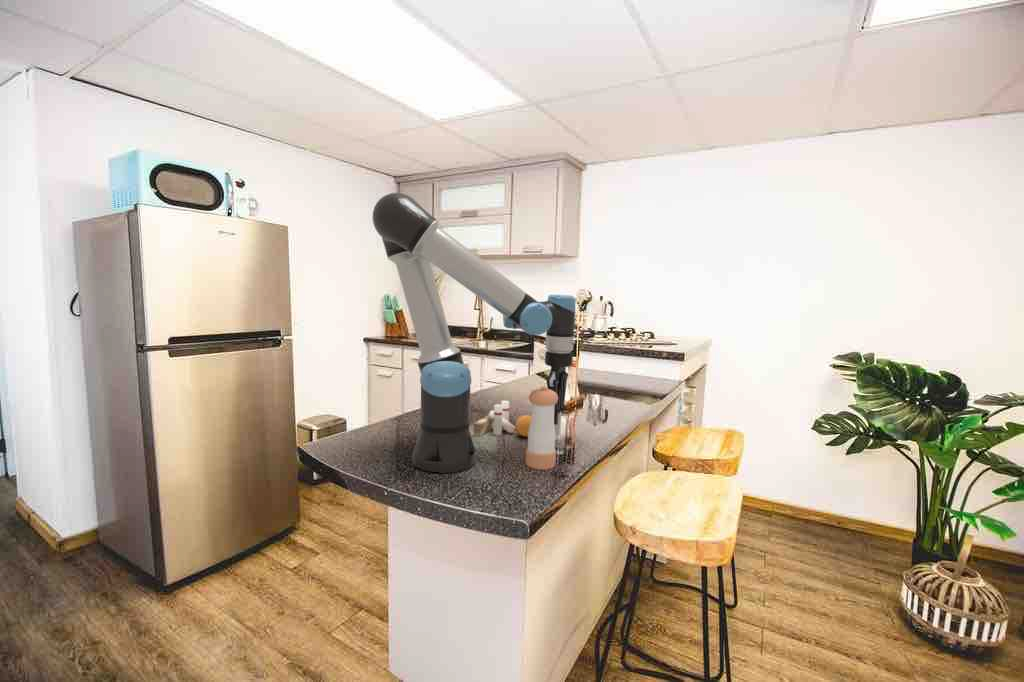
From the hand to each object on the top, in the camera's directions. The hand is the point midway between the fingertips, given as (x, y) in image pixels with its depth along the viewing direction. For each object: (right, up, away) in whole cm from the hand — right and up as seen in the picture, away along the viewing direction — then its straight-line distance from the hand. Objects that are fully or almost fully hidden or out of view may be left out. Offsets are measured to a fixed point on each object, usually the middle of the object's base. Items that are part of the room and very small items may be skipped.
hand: (554, 434), depth 125 cm
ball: (-8, +2, +3) cm, 9 cm away
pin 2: (-14, 0, +9) cm, 17 cm away
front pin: (-12, 0, +5) cm, 13 cm away
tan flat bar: (-19, 0, +8) cm, 21 cm away
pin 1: (-16, -1, +4) cm, 17 cm away
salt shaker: (-5, -4, -16) cm, 18 cm away
